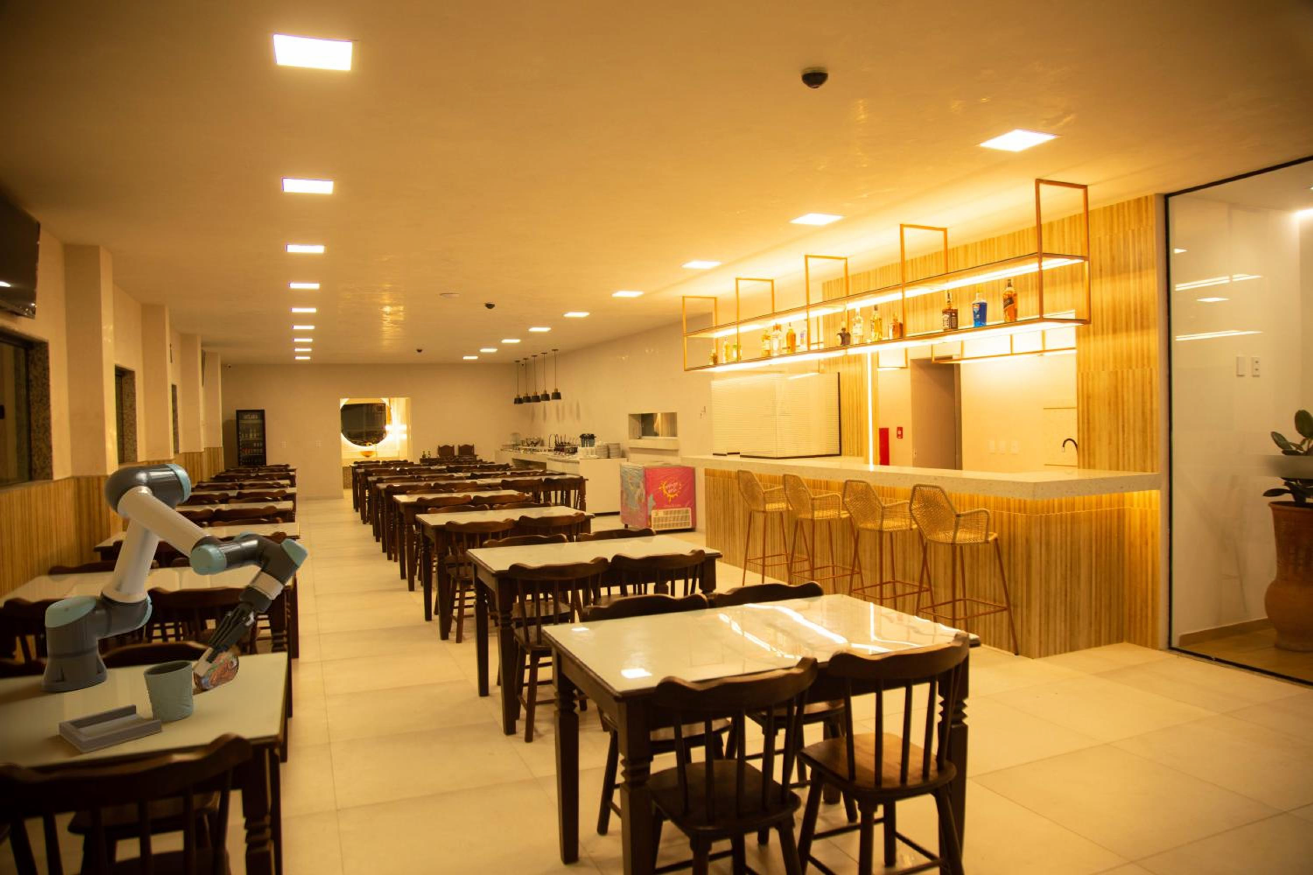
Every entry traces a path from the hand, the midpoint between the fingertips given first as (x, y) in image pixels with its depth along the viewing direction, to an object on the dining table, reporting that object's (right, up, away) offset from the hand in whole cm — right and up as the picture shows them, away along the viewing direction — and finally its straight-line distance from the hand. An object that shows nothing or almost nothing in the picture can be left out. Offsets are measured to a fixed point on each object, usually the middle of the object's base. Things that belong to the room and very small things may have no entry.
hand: (196, 673), depth 210 cm
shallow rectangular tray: (-13, -10, -13) cm, 21 cm away
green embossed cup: (-4, -10, -4) cm, 11 cm away
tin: (-6, -9, +21) cm, 24 cm away
